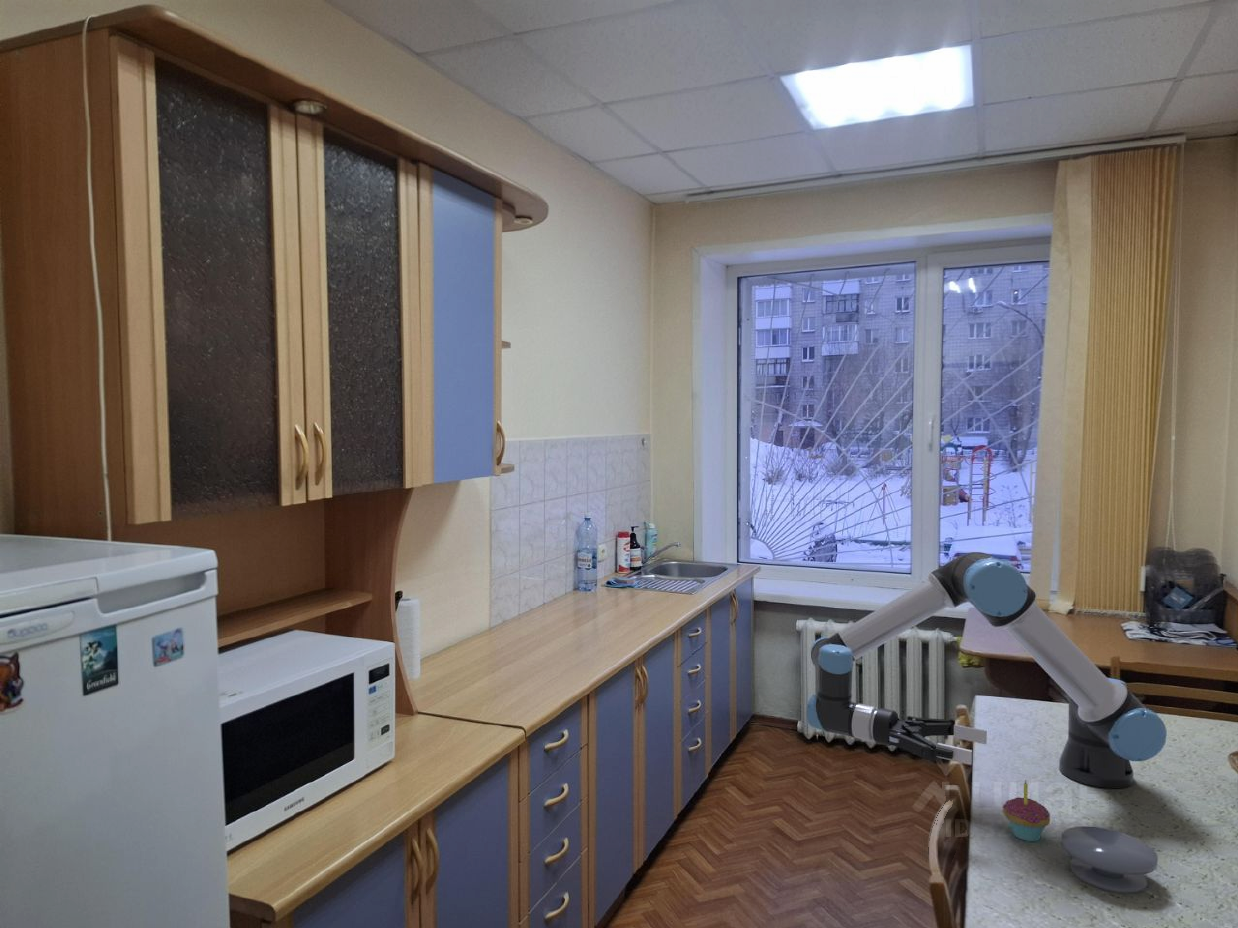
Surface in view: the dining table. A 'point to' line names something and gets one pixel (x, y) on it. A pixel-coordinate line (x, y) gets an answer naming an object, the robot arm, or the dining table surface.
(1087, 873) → the cake stand
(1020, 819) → the cupcake
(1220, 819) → the dining table surface
